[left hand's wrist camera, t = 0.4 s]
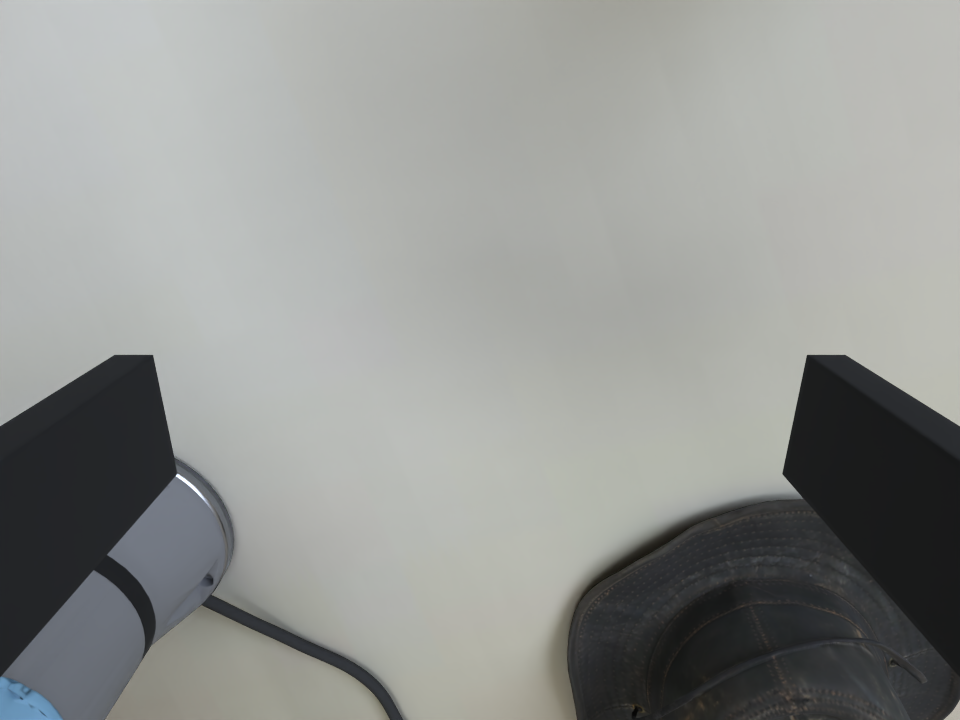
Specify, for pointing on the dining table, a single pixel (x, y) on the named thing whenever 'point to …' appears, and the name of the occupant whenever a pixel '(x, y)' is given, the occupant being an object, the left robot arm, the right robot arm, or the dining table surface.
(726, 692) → the hat
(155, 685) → the dining table surface
